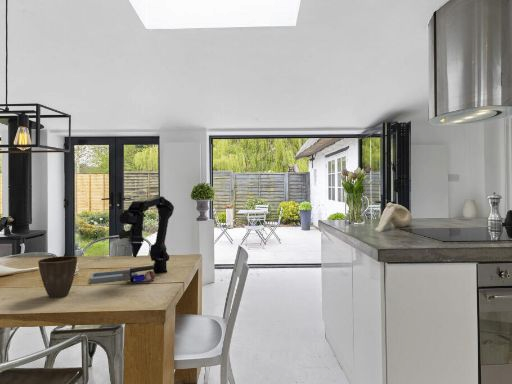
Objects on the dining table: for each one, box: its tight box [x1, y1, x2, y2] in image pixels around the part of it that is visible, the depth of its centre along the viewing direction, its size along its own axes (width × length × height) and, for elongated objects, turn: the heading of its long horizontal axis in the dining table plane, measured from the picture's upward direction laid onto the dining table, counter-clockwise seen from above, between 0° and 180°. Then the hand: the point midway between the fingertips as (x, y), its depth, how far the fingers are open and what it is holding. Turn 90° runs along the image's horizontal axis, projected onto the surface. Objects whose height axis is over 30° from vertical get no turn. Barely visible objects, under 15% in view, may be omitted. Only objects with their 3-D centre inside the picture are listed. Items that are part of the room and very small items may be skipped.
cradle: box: [90, 268, 139, 285], centre depth 175 cm, size 22×13×2 cm, turn 114°
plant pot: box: [37, 255, 78, 299], centre depth 147 cm, size 15×15×16 cm
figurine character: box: [122, 264, 156, 285], centre depth 167 cm, size 7×8×15 cm
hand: (134, 256), depth 167 cm, fingers open, 9 cm apart
